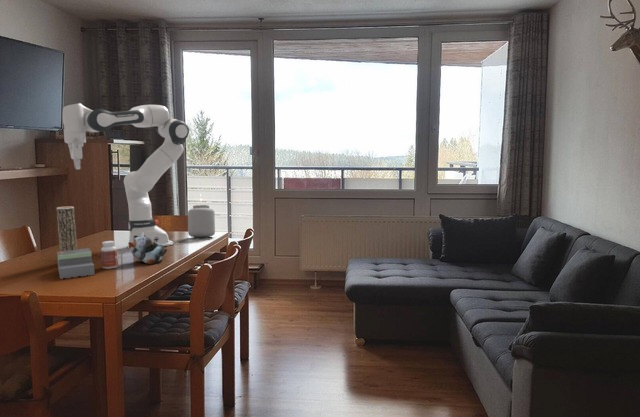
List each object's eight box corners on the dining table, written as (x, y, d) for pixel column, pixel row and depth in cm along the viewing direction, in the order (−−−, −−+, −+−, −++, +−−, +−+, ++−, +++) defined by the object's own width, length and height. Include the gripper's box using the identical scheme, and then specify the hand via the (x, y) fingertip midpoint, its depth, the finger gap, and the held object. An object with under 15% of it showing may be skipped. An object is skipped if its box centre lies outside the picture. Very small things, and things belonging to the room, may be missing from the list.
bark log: (81, 261, 214) (77, 206, 211) (69, 264, 208) (64, 208, 205) (70, 260, 216) (65, 206, 214) (57, 263, 210) (52, 207, 207)
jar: (191, 235, 280) (189, 193, 277) (217, 234, 282) (215, 192, 279) (186, 240, 262) (184, 195, 259) (214, 239, 263) (211, 194, 261)
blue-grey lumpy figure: (157, 265, 204) (138, 238, 200) (136, 274, 207) (117, 248, 203) (172, 248, 217) (155, 223, 213) (152, 257, 221) (134, 233, 217)
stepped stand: (90, 266, 204) (88, 247, 203) (94, 274, 189) (93, 254, 188) (58, 270, 198) (56, 250, 197) (60, 279, 183) (58, 258, 182)
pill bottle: (119, 267, 200) (117, 241, 199) (103, 269, 197) (101, 243, 196) (116, 265, 206) (114, 239, 204) (101, 267, 202) (99, 241, 201)
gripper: (84, 138, 210) (87, 169, 212) (81, 139, 228) (83, 168, 230) (68, 138, 207) (71, 169, 209) (66, 139, 225) (68, 169, 226)
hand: (77, 169), depth 219 cm, fingers open, 8 cm apart
